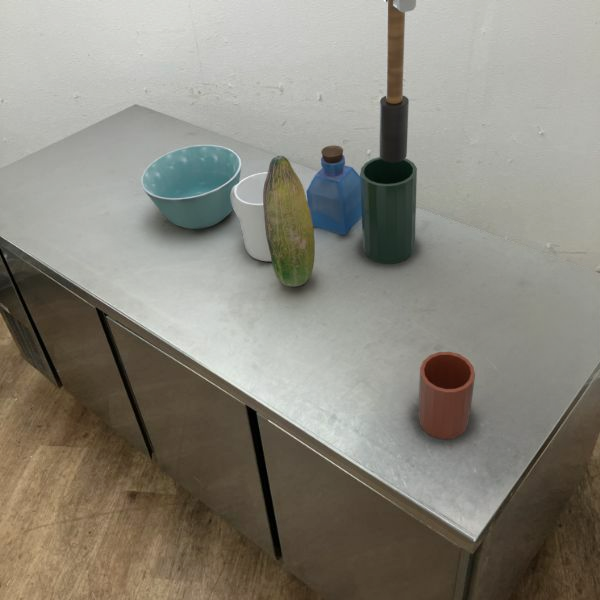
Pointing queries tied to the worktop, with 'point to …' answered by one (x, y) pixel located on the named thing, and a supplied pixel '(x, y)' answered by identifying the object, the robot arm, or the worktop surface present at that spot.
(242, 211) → the mug
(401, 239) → the cup
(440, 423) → the holder
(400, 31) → the wooden dowel rod
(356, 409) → the worktop surface
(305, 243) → the vegetable
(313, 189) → the perfume bottle
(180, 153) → the bowl
